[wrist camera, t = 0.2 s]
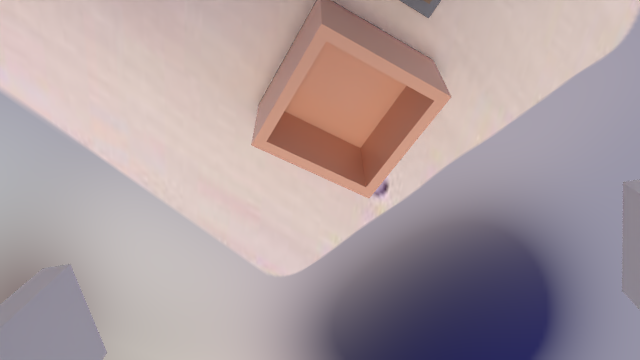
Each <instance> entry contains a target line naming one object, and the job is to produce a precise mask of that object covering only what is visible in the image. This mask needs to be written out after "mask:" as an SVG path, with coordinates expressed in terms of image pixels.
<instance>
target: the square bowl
mask: <svg viewBox="0 0 640 360" xmlns="http://www.w3.org/2000/svg"><path fill="white" fill-rule="evenodd" d="M450 98H451V95H450V93H449V91H448V89H447V87H446V85H445V83H444V81H443V79H442V77H441V75H440V73H439V71H438V69H437V67H436V65H435V63H434V61H433V60H432V59H430V58H428V57H427V56H425V55H423V54H422V53H420V52H418V51H416V50H415V49H413V48H411V47H410V46H408V45H406V44H405V43H403V42H401V41H399V40H398V39H396V38H394V37H393V36H391V35H389V34H387V33H386V32H384V31H382V30H381V29H379V28H377V27H375V26H374V25H372V24H370V23H369V22H367V21H365V20H363V19H362V18H360V17H358V16H357V15H355V14H353V13H352V12H350V11H348V10H346V9H345V8H343V7H341V6H340V5H338V4H336V3H334V2H333V1H331V0H317V1H316V2H315V4H314V6H313V8H312V10H311V11H310V13H309V15H308V17H307V19H306V20H305V22H304V24H303V26H302V28H301V29H300V31H299V33H298V35H297V37H296V38H295V40H294V42H293V44H292V46H291V47H290V49H289V51H288V53H287V55H286V56H285V58H284V60H283V62H282V64H281V65H280V67H279V69H278V71H277V73H276V74H275V76H274V78H273V80H272V82H271V83H270V85H269V87H268V89H267V91H266V92H265V94H264V96H263V98H262V100H261V101H260V103H259V105H258V111H257V116H256V122H255V128H254V133H253V139H252V144H251V145H252V146H254V147H256V148H259V149H261V150H263V151H265V152H268V153H270V154H272V155H274V156H276V157H279V158H281V159H283V160H285V161H287V162H290V163H292V164H294V165H296V166H298V167H301V168H303V169H305V170H307V171H310V172H312V173H314V174H316V175H318V176H321V177H323V178H325V179H327V180H329V181H332V182H334V183H336V184H338V185H341V186H343V187H345V188H347V189H349V190H352V191H354V192H356V193H358V194H360V195H363V196H365V197H367V198H370V197H371V196H372V194H373V193H374V192H375V191H376V189H377V188H378V187H379V186H380V184H381V183H382V182H383V181H384V179H385V178H386V177H387V176H388V175H389V173H390V172H391V171H392V170H393V168H394V167H395V166H396V165H397V163H398V162H399V161H400V160H401V158H402V157H403V156H404V155H405V154H406V152H407V151H408V150H409V149H410V147H411V146H412V145H413V144H414V142H415V141H416V140H417V139H418V137H419V136H420V135H421V134H422V133H423V131H424V130H425V129H426V128H427V126H428V125H429V124H430V123H431V121H432V120H433V119H434V118H435V116H436V115H437V114H438V113H439V112H440V110H441V109H442V108H443V107H444V105H445V104H446V103H447V102H448V100H449V99H450Z"/></svg>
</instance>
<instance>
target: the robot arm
mask: <svg viewBox="0 0 640 360" xmlns="http://www.w3.org/2000/svg"><path fill="white" fill-rule="evenodd" d="M622 247H623V248H622V252H623V253H622V291H623V292H624V293H625V294H626V295H627V297H628V298H629V299H630V300H631V301H632V302H633V303H634V304H635V305H636V306H637V308H638V309H639V310H640V180H633V181H627V182H623V245H622ZM106 354H107V351H106V349H105V346H104V344H103V342H102V339H101V337H100V334H99V332H98V330H97V327H96V325H95V322H94V320H93V317H92V315H91V313H90V310H89V308H88V305H87V303H86V301H85V298H84V296H83V294H82V291H81V289H80V286H79V284H78V282H77V279H76V277H75V274H74V272H73V269H72V267H71V265H70V264H68V265H62V266H55V267H48V268H43V269H42V270H40V271H39V272H38V273H37V274H36V275H34V276H33V277H32V278H31V279H30V280H29V281H27V282H26V283H25V284H24V285H23V286H22V287H20V288H19V289H18V290H17V291H16V292H14V293H13V294H12V295H11V296H10V297H8V298H7V299H6V300H5V301H4V302H3V303H1V304H0V360H102V359H103V358H104V357H105V355H106Z"/></svg>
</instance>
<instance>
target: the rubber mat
mask: <svg viewBox="0 0 640 360" xmlns="http://www.w3.org/2000/svg"><path fill="white" fill-rule="evenodd" d="M400 1H402V2H403V3H405V4H406V5H408V6H410V7H411V8H413V9H415V10H416V11H418V12H419V13H421V14H423V15H424V16H426V17H427V18H429V17H430V15H431V14H432V13H433V11H434V10H435V8H436V7H437V5H438V4H439V3H440V1H441V0H432V1H431V2H430V4H428V3H427V2H425V1H424V0H400Z"/></svg>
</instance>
